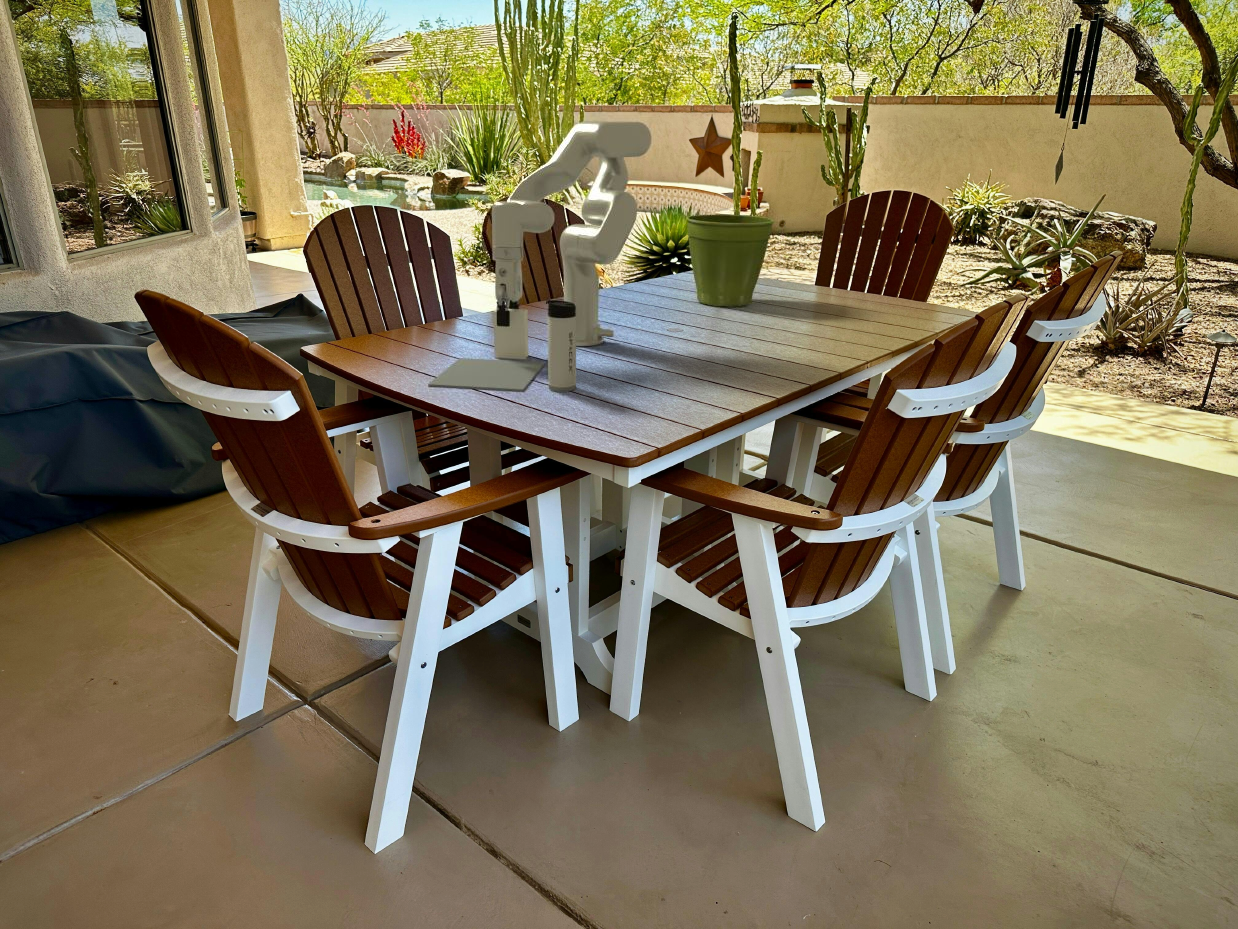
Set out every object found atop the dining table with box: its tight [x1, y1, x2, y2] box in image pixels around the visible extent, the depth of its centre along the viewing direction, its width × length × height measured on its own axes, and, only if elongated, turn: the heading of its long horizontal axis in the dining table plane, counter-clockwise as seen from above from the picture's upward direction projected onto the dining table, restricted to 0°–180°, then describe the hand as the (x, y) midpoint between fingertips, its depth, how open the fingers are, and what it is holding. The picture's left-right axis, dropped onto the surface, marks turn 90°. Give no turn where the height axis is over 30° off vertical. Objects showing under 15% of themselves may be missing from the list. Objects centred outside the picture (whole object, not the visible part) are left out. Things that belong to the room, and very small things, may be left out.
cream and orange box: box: [492, 308, 530, 360], centre depth 208 cm, size 8×4×12 cm, turn 83°
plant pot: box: [685, 214, 775, 307], centre depth 281 cm, size 30×30×29 cm
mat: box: [428, 357, 546, 392], centre depth 194 cm, size 22×24×1 cm
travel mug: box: [545, 299, 577, 393], centre depth 181 cm, size 6×7×20 cm
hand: (508, 322), depth 207 cm, fingers open, 9 cm apart
